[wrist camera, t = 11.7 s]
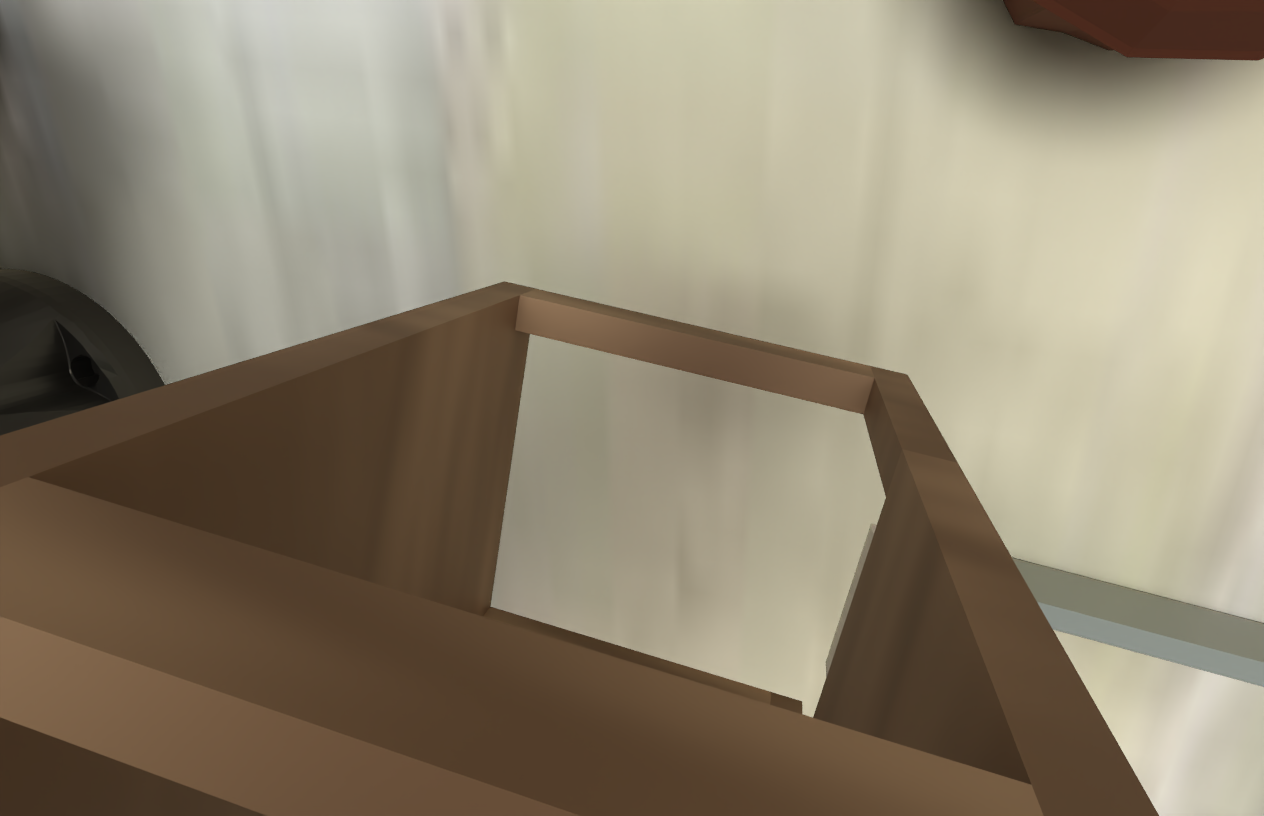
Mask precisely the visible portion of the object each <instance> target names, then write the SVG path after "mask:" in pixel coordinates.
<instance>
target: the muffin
mask: <svg viewBox="0 0 1264 816" xmlns="http://www.w3.org/2000/svg"><path fill="white" fill-rule="evenodd" d="M1003 1H1004V3H1005V5H1006V7H1007V9H1008V11H1009V13H1010V15H1011V17H1012V20H1013V22H1014V24H1016V25H1022V26H1028V27H1034V28H1040V29H1046V30H1052V31H1058V32H1063V33H1066V34H1069V35H1071V36H1074V37H1076V38H1079V39H1081V40H1084V41H1086V42H1089V43H1091V44H1094V45H1096V46H1099V47H1101V48H1104V49H1107V50H1116V51H1117V52H1119V53H1121V54H1122V55H1124V56H1126V57H1139V58H1181V59H1222V60H1260V59H1263V58H1264V0H1003Z"/></svg>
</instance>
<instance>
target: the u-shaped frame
mask: <svg viewBox="0 0 1264 816" xmlns="http://www.w3.org/2000/svg"><path fill="white" fill-rule="evenodd" d="M1012 559H1013V561H1014V562H1015V564H1016V566H1017V568H1018V569H1019V571H1020V573H1021V575H1022V576H1023V578H1024V580H1025V582H1026V583H1027V585H1028V587H1029V589H1030V590H1031V592H1032V594H1033V596H1034V598H1035V599H1036V601H1037V603H1038V605H1039V606H1040V608H1041V610H1042V612H1043V613H1044V615H1045V617H1046V619H1047V620H1048V622H1049V624H1050V626H1051V627H1052V629H1054V630H1057V631H1061V632H1065V633H1068V634H1072V635H1076V636H1079V637H1083V638H1087V639H1090V640H1094V641H1097V642H1101V643H1105V644H1108V645H1112V646H1116V647H1119V648H1123V649H1127V650H1130V651H1134V652H1138V653H1141V654H1145V655H1149V656H1152V657H1156V658H1160V659H1163V660H1167V661H1171V662H1174V663H1178V664H1182V665H1185V666H1189V667H1193V668H1196V669H1200V670H1204V671H1207V672H1211V673H1215V674H1218V675H1222V676H1226V677H1229V678H1233V679H1237V680H1240V681H1244V682H1248V683H1251V684H1255V685H1259V686H1262V687H1264V624H1263V623H1260V622H1256V621H1252V620H1248V619H1244V618H1240V617H1237V616H1233V615H1229V614H1225V613H1221V612H1218V611H1214V610H1210V609H1206V608H1202V607H1198V606H1195V605H1191V604H1187V603H1183V602H1179V601H1175V600H1172V599H1168V598H1164V597H1160V596H1156V595H1152V594H1149V593H1145V592H1141V591H1137V590H1133V589H1130V588H1126V587H1122V586H1118V585H1114V584H1110V583H1107V582H1103V581H1099V580H1095V579H1091V578H1087V577H1084V576H1080V575H1076V574H1072V573H1068V572H1064V571H1061V570H1057V569H1053V568H1049V567H1045V566H1041V565H1038V564H1034V563H1030V562H1026V561H1022V560H1019V559H1015V558H1012Z"/></svg>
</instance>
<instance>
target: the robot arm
mask: <svg viewBox="0 0 1264 816" xmlns="http://www.w3.org/2000/svg"><path fill="white" fill-rule="evenodd" d="M161 386H164V383H163V381H162V379H161V378H160V376H159V374H158V372H157V371H156V369H155V367H154V366H153V364H152V363H151V361H150V360H149V358H148V357H147V355H146V354H145V352H144V351H143V350H142V348H141V347H140V346H139V344H138V343H137V342H136V341H135V340H134V338H133V337H132V336H131V335H130V334H129V333H128V331H127V330H126V329H125V328H124V327H123V326H122V325H121V324H120V323H119V322H118V321H117V320H116V319H115V318H114V317H113V316H112V315H110V314H109V313H108V312H107V311H106V310H105V309H103V308H102V307H101V306H100V305H98V304H97V303H96V302H94V301H93V300H92V299H90V298H89V297H87V296H86V295H84V294H83V293H81V292H79V291H78V290H76V289H74V288H72V287H71V286H69V285H67V284H65V283H62V282H60V281H58V280H56V279H53V278H51V277H48V276H45V275H42V274H38V273H35V272H30V271H25V270H17V269H0V436H1V435H4V434H7V433H10V432H14V431H17V430H20V429H23V428H27V427H30V426H33V425H37V424H40V423H43V422H46V421H50V420H53V419H56V418H59V417H63V416H66V415H69V414H73V413H76V412H79V411H82V410H86V409H89V408H92V407H95V406H99V405H102V404H105V403H109V402H112V401H115V400H118V399H122V398H125V397H128V396H131V395H135V394H138V393H141V392H145V391H148V390H151V389H154V388H158V387H161ZM876 526H877V525H875V524H871V526H870V529H869V532H868V535H867V538H866V541H865V544H864V547H863V550H862V553H861V556H860V559H859V562H858V565H857V568H856V572H855V575H854V578H853V581H852V584H851V587H850V590H849V593H848V596H847V599H846V602H845V605H844V608H843V611H842V614H841V617H840V620H839V623H838V626H837V630H836V633H835V636H834V639H833V642H832V645H831V648H830V651H829V654H828V657H827V660H826V678H827V675H828V672H829V669H830V666H831V662H832V659H833V656H834V653H835V650H836V647H837V644H838V641H839V638H840V635H841V632H842V629H843V626H844V623H845V620H846V617H847V614H848V611H849V608H850V605H851V602H852V599H853V596H854V593H855V590H856V587H857V584H858V581H859V578H860V575H861V572H862V569H863V566H864V563H865V560H866V557H867V554H868V551H869V548H870V545H871V542H872V539H873V536H874V532H875V529H876Z"/></svg>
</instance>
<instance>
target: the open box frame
mask: <svg viewBox="0 0 1264 816" xmlns="http://www.w3.org/2000/svg"><path fill="white" fill-rule="evenodd" d="M530 334H533V335H537V336H541V337H546V338H550V339H554V340H558V341H562V342H566V343H570V344H575V345H579V346H583V347H587V348H591V349H595V350H599V351H604V352H608V353H612V354H616V355H620V356H624V357H628V358H633V359H637V360H641V361H645V362H649V363H653V364H657V365H662V366H666V367H670V368H674V369H678V370H682V371H686V372H691V373H695V374H699V375H703V376H707V377H711V378H715V379H720V380H724V381H728V382H732V383H736V384H740V385H744V386H749V387H753V388H757V389H761V390H765V391H769V392H773V393H778V394H782V395H786V396H790V397H794V398H798V399H802V400H807V401H811V402H815V403H819V404H823V405H827V406H831V407H836V408H840V409H844V410H848V411H852V412H856V413H860V414H863V415H864V418H865V422H866V425H867V429H868V433H869V436H870V440H871V444H872V447H873V451H874V455H875V458H876V462H877V466H878V469H879V473H880V477H881V480H882V484H883V488H884V491H885V495H886V499H885V502H884V505H883V508H882V511H881V514H880V517H879V520H878V523H877V526H876V529H875V532H874V536H873V539H872V542H871V545H870V548H869V551H868V554H867V557H866V560H865V563H864V566H863V569H862V572H861V575H860V578H859V581H858V584H857V587H856V590H855V593H854V596H853V599H852V602H851V605H850V608H849V611H848V614H847V617H846V620H845V623H844V626H843V629H842V632H841V635H840V638H839V641H838V644H837V647H836V650H835V653H834V656H833V659H832V662H831V666H830V669H829V672H828V675H827V678H826V681H825V684H824V687H823V690H822V693H821V696H820V699H819V702H818V705H817V708H816V711H815V714H814V717H813V718H812V717H809V716H806V715H802V701H799V700H795V699H792V698H789V697H785V696H782V695H779V694H776V693H772V692H769V691H766V690H762V689H759V688H756V687H752V686H749V685H746V684H743V683H739V682H736V681H733V680H729V679H726V678H723V677H720V676H716V675H713V674H710V673H706V672H703V671H700V670H697V669H693V668H690V667H687V666H683V665H680V664H677V663H674V662H670V661H667V660H664V659H660V658H657V657H654V656H651V655H647V654H644V653H641V652H637V651H634V650H631V649H628V648H624V647H621V646H618V645H614V644H611V643H608V642H605V641H601V640H598V639H595V638H591V637H588V636H585V635H582V634H578V633H575V632H572V631H568V630H565V629H562V628H559V627H555V626H552V625H549V624H545V623H542V622H539V621H535V620H532V619H529V618H526V617H522V616H519V615H516V614H512V613H509V612H506V611H503V610H499V609H496V608H493V607H490V605H491V598H492V591H493V584H494V577H495V571H496V564H497V557H498V550H499V543H500V536H501V529H502V522H503V515H504V508H505V502H506V495H507V488H508V481H509V474H510V467H511V460H512V453H513V446H514V440H515V433H516V426H517V419H518V412H519V405H520V398H521V391H522V384H523V378H524V371H525V364H526V357H527V350H528V343H529V336H530ZM0 816H1159V815H1158V813H1157V811H1156V810H1155V808H1154V806H1153V804H1152V803H1151V801H1150V799H1149V797H1148V796H1147V794H1146V792H1145V790H1144V789H1143V787H1142V785H1141V783H1140V782H1139V780H1138V778H1137V776H1136V775H1135V773H1134V771H1133V769H1132V768H1131V766H1130V764H1129V762H1128V761H1127V759H1126V757H1125V755H1124V754H1123V752H1122V750H1121V748H1120V746H1119V745H1118V743H1117V741H1116V739H1115V738H1114V736H1113V734H1112V732H1111V731H1110V729H1109V727H1108V725H1107V724H1106V722H1105V720H1104V718H1103V717H1102V715H1101V713H1100V711H1099V710H1098V708H1097V706H1096V704H1095V703H1094V701H1093V699H1092V697H1091V696H1090V694H1089V692H1088V690H1087V689H1086V687H1085V685H1084V683H1083V682H1082V680H1081V678H1080V676H1079V675H1078V673H1077V671H1076V669H1075V668H1074V666H1073V664H1072V662H1071V661H1070V659H1069V657H1068V655H1067V654H1066V652H1065V650H1064V648H1063V647H1062V645H1061V643H1060V641H1059V640H1058V638H1057V636H1056V634H1055V633H1054V631H1053V629H1052V627H1051V626H1050V624H1049V622H1048V620H1047V619H1046V617H1045V615H1044V613H1043V612H1042V610H1041V608H1040V606H1039V605H1038V603H1037V601H1036V599H1035V598H1034V596H1033V594H1032V592H1031V590H1030V589H1029V587H1028V585H1027V583H1026V582H1025V580H1024V578H1023V576H1022V575H1021V573H1020V571H1019V569H1018V568H1017V566H1016V564H1015V562H1014V561H1013V559H1012V557H1011V555H1010V554H1009V552H1008V550H1007V548H1006V547H1005V545H1004V543H1003V541H1002V540H1001V538H1000V536H999V534H998V533H997V531H996V529H995V527H994V526H993V524H992V522H991V520H990V519H989V517H988V515H987V513H986V512H985V510H984V508H983V506H982V505H981V503H980V501H979V499H978V498H977V496H976V494H975V492H974V491H973V489H972V487H971V485H970V484H969V482H968V480H967V478H966V477H965V475H964V473H963V471H962V470H961V468H960V466H959V464H958V463H957V461H956V459H955V457H954V456H953V454H952V452H951V450H950V449H949V447H948V445H947V443H946V442H945V440H944V438H943V436H942V435H941V433H940V431H939V429H938V427H937V426H936V424H935V422H934V420H933V419H932V417H931V415H930V413H929V412H928V410H927V408H926V406H925V405H924V403H923V401H922V399H921V398H920V396H919V394H918V392H917V391H916V389H915V387H914V385H913V384H912V382H911V380H910V378H909V377H908V375H906V374H902V373H898V372H893V371H889V370H885V369H880V368H876V367H872V366H867V365H863V364H859V363H854V362H850V361H846V360H841V359H837V358H833V357H829V356H824V355H820V354H816V353H811V352H807V351H803V350H798V349H794V348H790V347H785V346H781V345H777V344H772V343H768V342H764V341H759V340H755V339H751V338H746V337H742V336H738V335H733V334H729V333H725V332H720V331H716V330H712V329H707V328H703V327H699V326H694V325H690V324H686V323H681V322H677V321H673V320H668V319H664V318H660V317H656V316H651V315H647V314H643V313H638V312H634V311H630V310H625V309H621V308H617V307H612V306H608V305H604V304H599V303H595V302H591V301H586V300H582V299H578V298H573V297H569V296H565V295H560V294H556V293H552V292H547V291H543V290H539V289H534V288H530V287H526V286H521V285H517V284H513V283H508V282H501V283H498V284H495V285H492V286H488V287H485V288H482V289H478V290H475V291H472V292H469V293H465V294H462V295H459V296H456V297H452V298H449V299H446V300H442V301H439V302H436V303H433V304H429V305H426V306H423V307H420V308H416V309H413V310H410V311H406V312H403V313H400V314H397V315H393V316H390V317H387V318H384V319H380V320H377V321H374V322H370V323H367V324H364V325H361V326H357V327H354V328H351V329H348V330H344V331H341V332H338V333H334V334H331V335H328V336H325V337H321V338H318V339H315V340H312V341H308V342H305V343H302V344H298V345H295V346H292V347H289V348H285V349H282V350H279V351H275V352H272V353H269V354H266V355H262V356H259V357H256V358H253V359H249V360H246V361H243V362H239V363H236V364H233V365H230V366H226V367H223V368H220V369H217V370H213V371H210V372H207V373H203V374H200V375H197V376H194V377H190V378H187V379H184V380H181V381H177V382H174V383H171V384H167V385H164V386H161V387H158V388H154V389H151V390H148V391H145V392H141V393H138V394H135V395H131V396H128V397H125V398H122V399H118V400H115V401H112V402H109V403H105V404H102V405H99V406H95V407H92V408H89V409H86V410H82V411H79V412H76V413H73V414H69V415H66V416H63V417H59V418H56V419H53V420H50V421H46V422H43V423H40V424H37V425H33V426H30V427H27V428H23V429H20V430H17V431H14V432H10V433H7V434H4V435H1V436H0Z"/></svg>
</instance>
